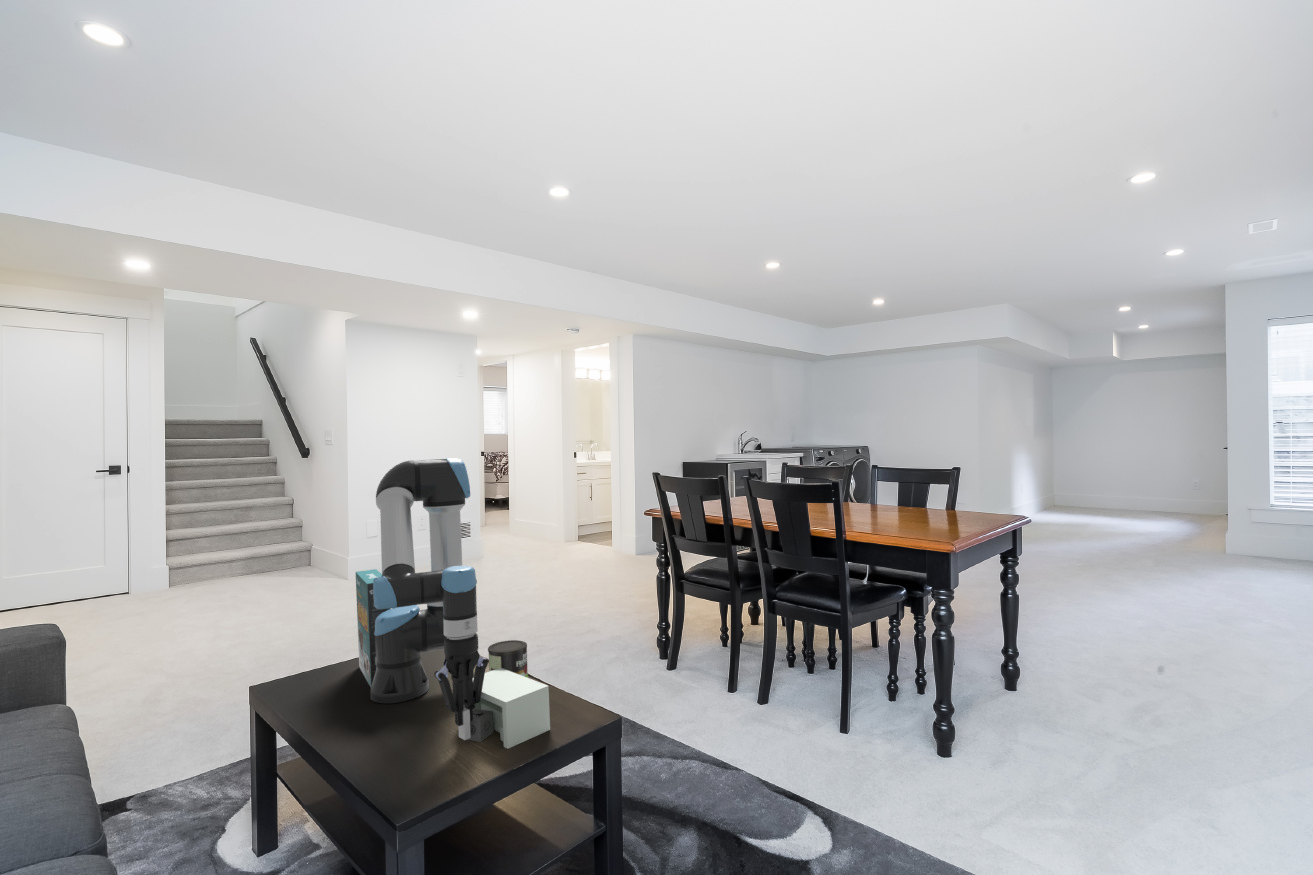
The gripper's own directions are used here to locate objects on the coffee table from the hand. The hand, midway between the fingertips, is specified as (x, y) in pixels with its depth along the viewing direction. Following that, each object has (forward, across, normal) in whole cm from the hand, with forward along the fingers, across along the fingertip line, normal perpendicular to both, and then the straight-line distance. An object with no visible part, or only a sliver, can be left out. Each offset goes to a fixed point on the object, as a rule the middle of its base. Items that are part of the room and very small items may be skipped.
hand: (464, 737), depth 149 cm
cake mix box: (+2, +7, +62) cm, 62 cm away
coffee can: (+2, +22, +14) cm, 26 cm away
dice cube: (+2, +4, +1) cm, 5 cm away
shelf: (+1, +11, 0) cm, 11 cm away
